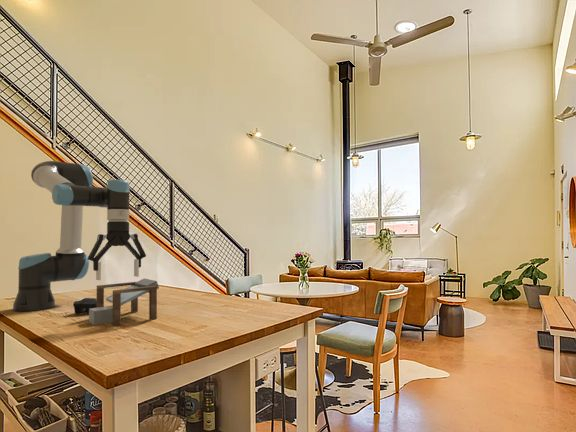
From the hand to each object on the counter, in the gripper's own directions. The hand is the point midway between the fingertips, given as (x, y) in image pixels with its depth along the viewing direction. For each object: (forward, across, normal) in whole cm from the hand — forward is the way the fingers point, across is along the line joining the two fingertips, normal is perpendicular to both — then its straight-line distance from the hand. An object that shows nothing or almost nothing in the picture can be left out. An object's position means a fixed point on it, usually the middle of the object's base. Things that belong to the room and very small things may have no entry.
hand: (118, 278), depth 140 cm
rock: (+16, -3, +21) cm, 27 cm away
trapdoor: (+7, +6, 0) cm, 9 cm away
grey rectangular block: (+13, -1, 0) cm, 13 cm away
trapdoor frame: (+15, +3, 0) cm, 15 cm away
